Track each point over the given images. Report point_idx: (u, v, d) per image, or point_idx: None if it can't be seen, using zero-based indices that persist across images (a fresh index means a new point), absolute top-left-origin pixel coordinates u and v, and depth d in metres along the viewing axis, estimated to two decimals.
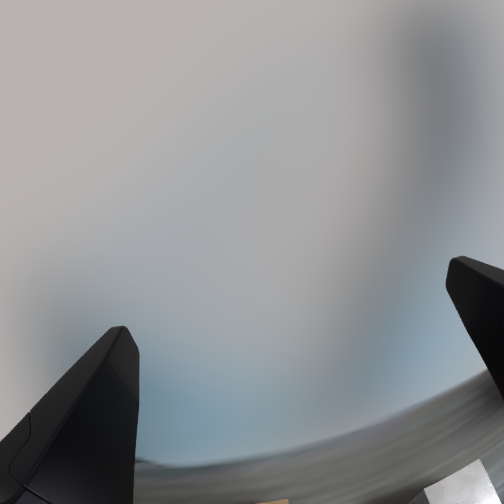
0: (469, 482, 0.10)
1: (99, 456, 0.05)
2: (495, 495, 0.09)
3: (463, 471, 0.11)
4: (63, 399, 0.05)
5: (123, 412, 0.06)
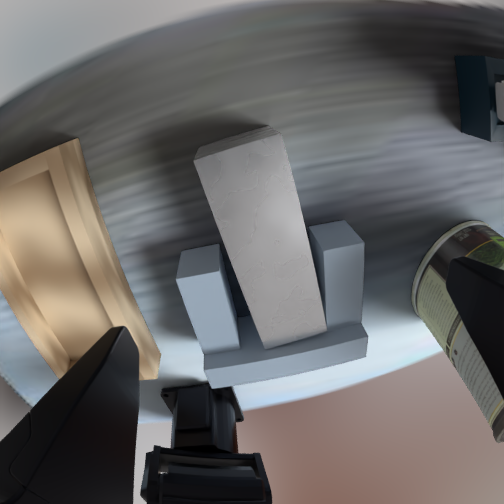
0: (259, 164, 0.14)
1: (99, 456, 0.05)
2: (295, 195, 0.15)
3: (253, 146, 0.13)
4: (63, 399, 0.05)
5: (123, 412, 0.06)
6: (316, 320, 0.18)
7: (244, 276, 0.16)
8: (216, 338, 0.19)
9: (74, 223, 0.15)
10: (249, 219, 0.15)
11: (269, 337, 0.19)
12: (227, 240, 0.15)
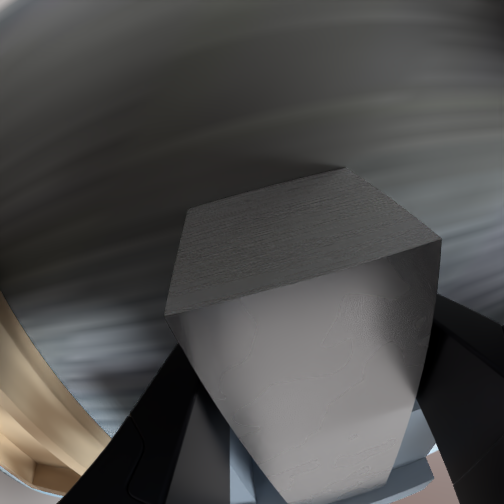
0: (365, 323, 0.04)
1: (211, 455, 0.05)
2: (418, 370, 0.05)
3: (361, 277, 0.04)
4: (174, 395, 0.05)
5: None
6: (375, 483, 0.09)
7: (279, 474, 0.07)
8: None
9: None
10: (310, 420, 0.06)
11: None
12: (254, 446, 0.06)
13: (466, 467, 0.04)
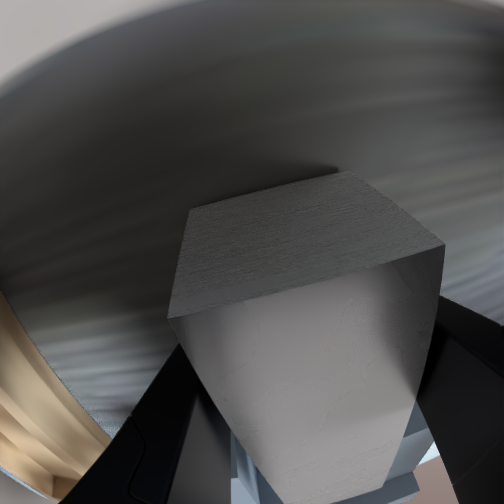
0: (367, 327, 0.04)
1: (212, 455, 0.05)
2: (418, 373, 0.05)
3: (365, 282, 0.04)
4: (175, 395, 0.05)
5: None
6: (372, 485, 0.09)
7: (277, 475, 0.07)
8: None
9: (9, 405, 0.07)
10: (309, 422, 0.06)
11: None
12: (254, 448, 0.06)
13: (465, 468, 0.04)
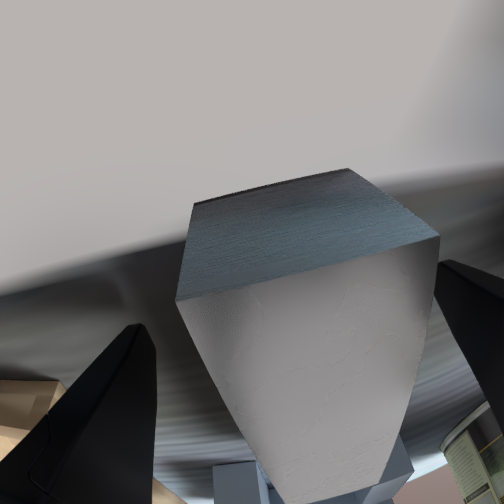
0: (366, 313, 0.05)
1: (120, 457, 0.05)
2: (415, 364, 0.06)
3: (364, 269, 0.04)
4: (83, 399, 0.05)
5: (142, 411, 0.06)
6: (369, 480, 0.09)
7: (276, 467, 0.07)
8: None
9: None
10: (309, 411, 0.06)
11: (297, 500, 0.10)
12: (254, 437, 0.06)
13: None
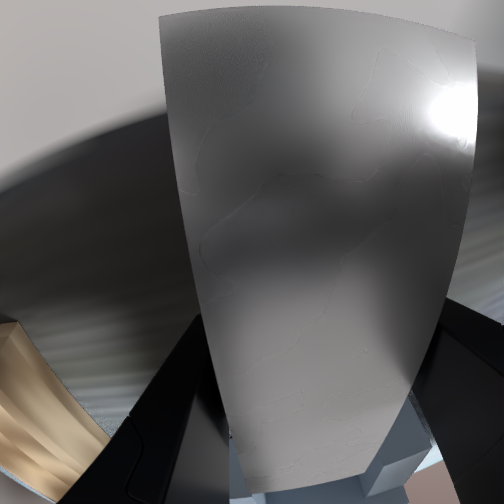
0: (404, 102, 0.03)
1: (210, 455, 0.05)
2: (457, 236, 0.04)
3: (399, 33, 0.03)
4: (173, 395, 0.05)
5: (221, 404, 0.06)
6: (356, 465, 0.08)
7: (245, 415, 0.06)
8: None
9: (49, 445, 0.08)
10: (313, 287, 0.04)
11: (263, 485, 0.08)
12: (221, 336, 0.04)
13: (466, 467, 0.04)
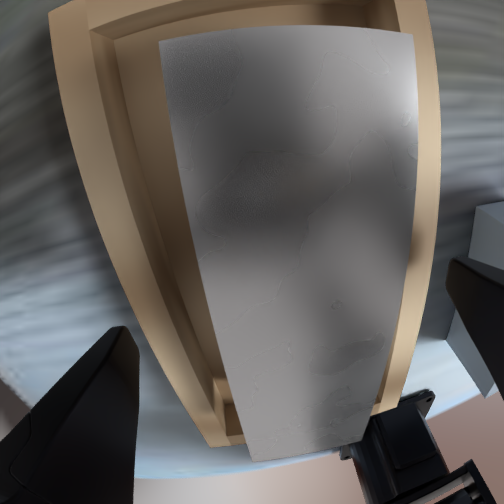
0: (348, 91, 0.04)
1: (99, 456, 0.05)
2: (410, 199, 0.05)
3: (341, 38, 0.04)
4: (63, 399, 0.05)
5: (123, 412, 0.06)
6: (352, 430, 0.09)
7: (241, 366, 0.07)
8: None
9: (424, 115, 0.06)
10: (287, 241, 0.05)
11: (265, 450, 0.09)
12: (215, 286, 0.06)
13: None
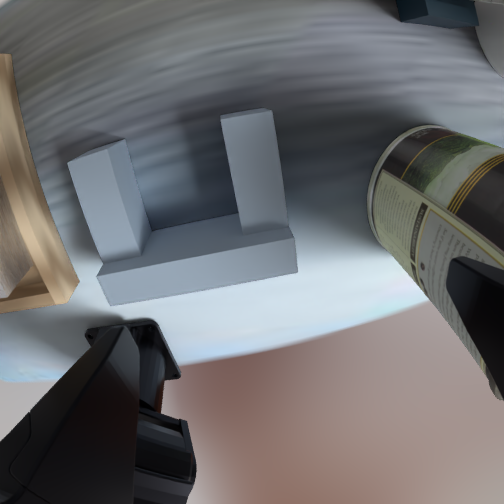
0: None
1: (99, 456, 0.05)
2: None
3: None
4: (63, 399, 0.05)
5: (123, 412, 0.06)
6: None
7: None
8: (112, 239, 0.16)
9: None
10: None
11: None
12: None
13: None
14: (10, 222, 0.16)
